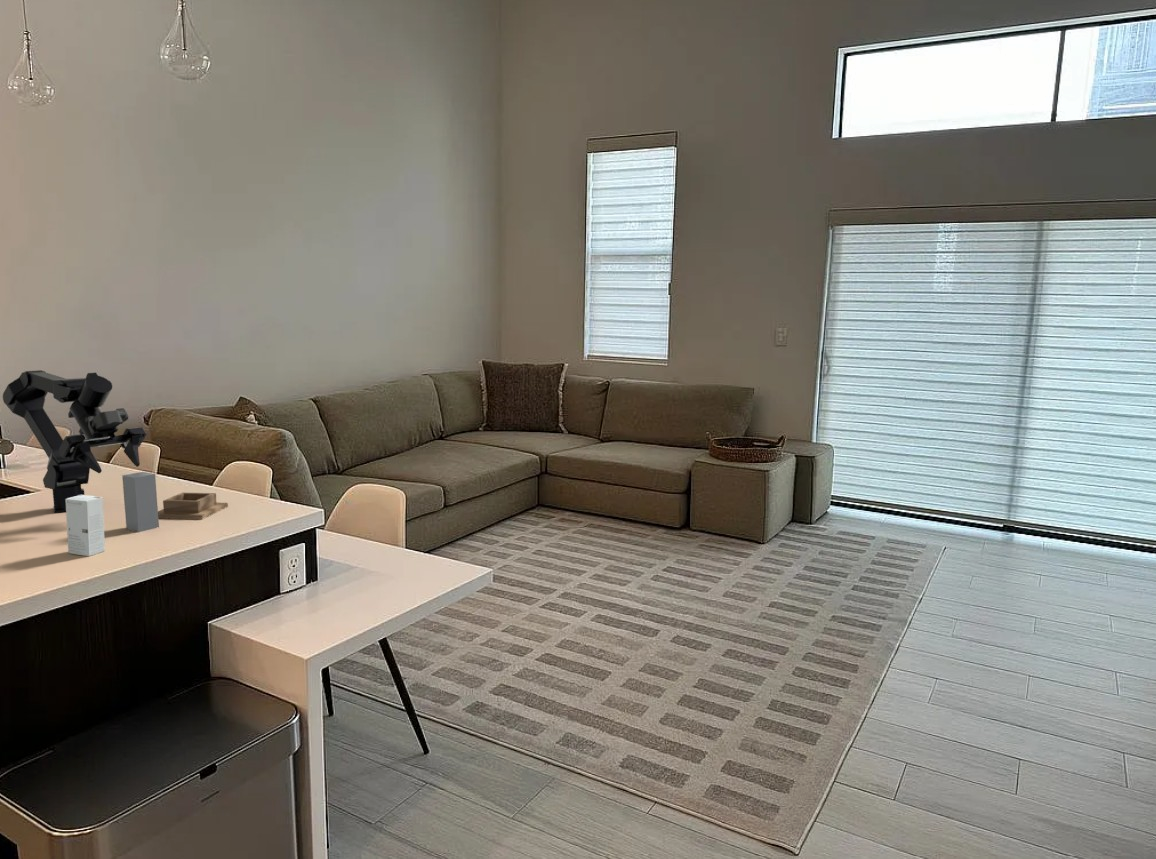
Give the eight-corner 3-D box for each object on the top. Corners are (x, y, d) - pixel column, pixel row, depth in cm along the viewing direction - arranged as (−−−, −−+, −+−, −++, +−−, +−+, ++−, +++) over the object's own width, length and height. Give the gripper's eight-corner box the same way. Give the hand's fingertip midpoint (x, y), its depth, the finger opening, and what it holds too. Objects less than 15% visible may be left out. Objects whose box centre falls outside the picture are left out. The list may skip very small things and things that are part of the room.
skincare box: (67, 554, 173) (62, 498, 171) (85, 548, 177) (81, 494, 175) (89, 556, 171) (84, 501, 169) (107, 550, 175) (103, 496, 173)
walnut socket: (202, 519, 201) (201, 503, 200) (151, 518, 202) (150, 502, 201) (228, 506, 214) (227, 491, 213) (180, 505, 214) (179, 490, 214)
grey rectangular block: (138, 532, 189) (134, 477, 187) (126, 528, 192) (122, 475, 190) (159, 527, 194) (155, 474, 192) (146, 524, 196) (142, 471, 194)
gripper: (61, 402, 187) (91, 453, 183) (139, 394, 203) (168, 442, 199) (46, 432, 192) (75, 483, 188) (124, 423, 208) (152, 470, 204)
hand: (119, 468), depth 195 cm, fingers open, 9 cm apart
